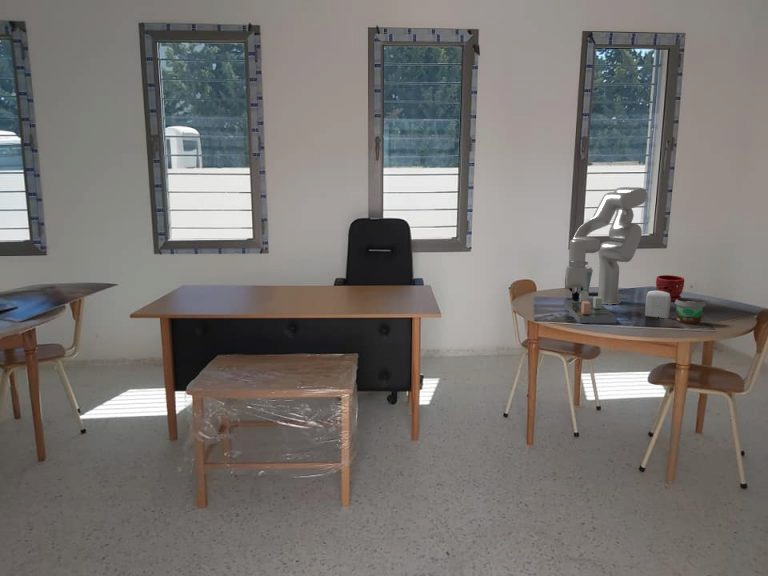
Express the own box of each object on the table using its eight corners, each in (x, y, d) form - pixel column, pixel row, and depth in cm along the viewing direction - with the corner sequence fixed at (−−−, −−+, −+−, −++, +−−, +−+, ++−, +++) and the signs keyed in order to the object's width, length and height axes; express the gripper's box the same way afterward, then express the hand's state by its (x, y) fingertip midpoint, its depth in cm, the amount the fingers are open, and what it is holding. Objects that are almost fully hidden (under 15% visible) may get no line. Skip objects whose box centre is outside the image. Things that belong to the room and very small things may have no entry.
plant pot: (649, 298, 303) (651, 276, 300) (666, 296, 308) (667, 274, 306) (671, 303, 291) (673, 280, 289) (688, 300, 297) (690, 277, 294)
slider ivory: (585, 301, 284) (586, 291, 283) (588, 303, 280) (588, 293, 279) (579, 301, 285) (580, 291, 284) (581, 303, 280) (582, 293, 279)
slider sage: (599, 306, 273) (599, 296, 272) (601, 308, 269) (602, 298, 268) (592, 306, 274) (593, 296, 273) (595, 308, 269) (595, 298, 268)
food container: (674, 323, 253) (676, 301, 251) (673, 320, 259) (674, 298, 257) (706, 325, 249) (708, 303, 247) (703, 322, 254) (705, 300, 252)
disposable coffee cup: (575, 295, 313) (576, 268, 310) (568, 291, 324) (569, 265, 321) (594, 295, 313) (596, 268, 310) (587, 291, 324) (588, 265, 321)
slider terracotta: (587, 311, 263) (588, 301, 262) (590, 314, 259) (590, 303, 258) (581, 311, 264) (581, 301, 263) (583, 314, 259) (584, 303, 258)
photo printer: (669, 317, 264) (671, 291, 262) (668, 319, 261) (670, 292, 258) (645, 314, 270) (647, 289, 268) (644, 316, 267) (645, 290, 264)
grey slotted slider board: (596, 306, 288) (596, 300, 288) (616, 323, 255) (616, 317, 254) (563, 306, 290) (563, 300, 289) (579, 323, 257) (579, 316, 256)
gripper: (590, 262, 282) (589, 299, 286) (559, 263, 284) (558, 299, 287) (594, 265, 275) (592, 302, 278) (562, 265, 276) (561, 302, 280)
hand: (575, 300), depth 283 cm, fingers closed
